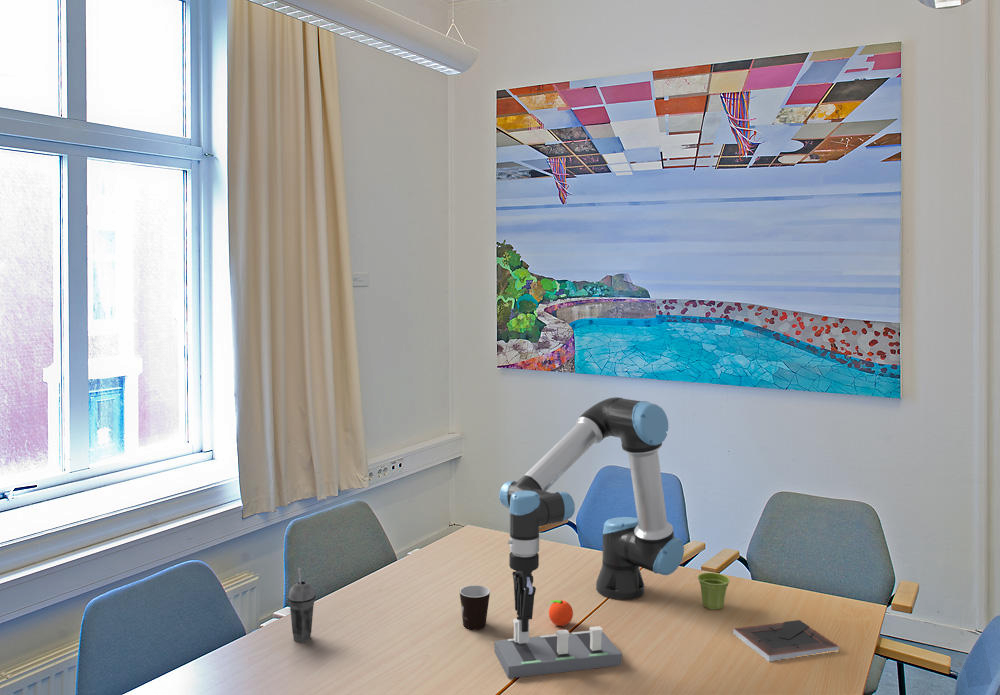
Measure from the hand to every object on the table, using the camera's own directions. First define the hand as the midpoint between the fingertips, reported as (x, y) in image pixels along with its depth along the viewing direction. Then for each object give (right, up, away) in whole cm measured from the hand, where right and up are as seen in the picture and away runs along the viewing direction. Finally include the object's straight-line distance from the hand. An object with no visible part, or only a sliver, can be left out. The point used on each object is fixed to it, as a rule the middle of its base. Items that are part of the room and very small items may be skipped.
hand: (523, 641), depth 200 cm
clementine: (+11, -3, +21) cm, 24 cm away
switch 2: (+19, -2, -1) cm, 19 cm away
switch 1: (-1, -1, +3) cm, 3 cm away
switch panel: (+9, -5, +1) cm, 10 cm away
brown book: (+72, -6, +12) cm, 73 cm away
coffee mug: (-13, -3, +21) cm, 25 cm away
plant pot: (+59, -3, +36) cm, 69 cm away
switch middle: (+10, -2, -3) cm, 10 cm away
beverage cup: (-60, -3, +10) cm, 61 cm away
